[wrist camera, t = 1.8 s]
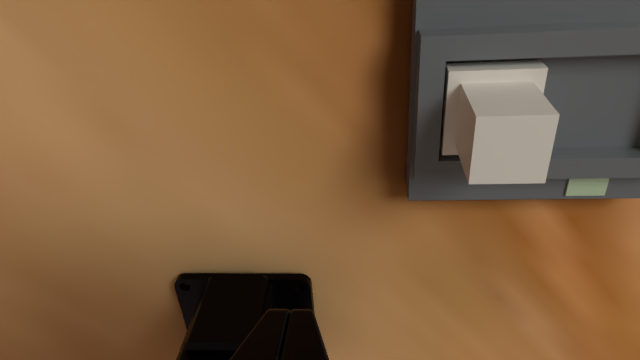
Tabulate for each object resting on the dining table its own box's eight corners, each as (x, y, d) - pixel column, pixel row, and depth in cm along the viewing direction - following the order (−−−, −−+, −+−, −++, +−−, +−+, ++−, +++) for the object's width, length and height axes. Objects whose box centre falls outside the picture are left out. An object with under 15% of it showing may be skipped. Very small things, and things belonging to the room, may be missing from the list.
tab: (525, 142, 18) (556, 194, 15) (438, 144, 18) (453, 195, 15) (540, 59, 16) (578, 100, 13) (445, 63, 16) (462, 103, 13)
